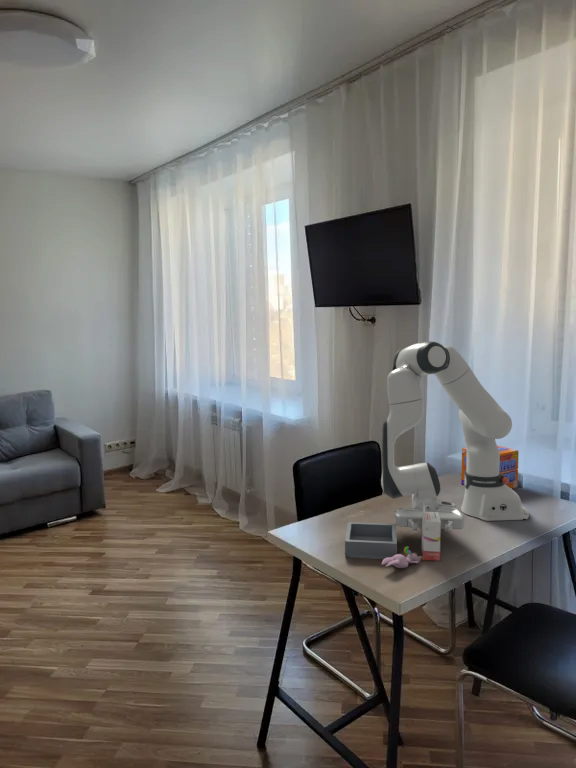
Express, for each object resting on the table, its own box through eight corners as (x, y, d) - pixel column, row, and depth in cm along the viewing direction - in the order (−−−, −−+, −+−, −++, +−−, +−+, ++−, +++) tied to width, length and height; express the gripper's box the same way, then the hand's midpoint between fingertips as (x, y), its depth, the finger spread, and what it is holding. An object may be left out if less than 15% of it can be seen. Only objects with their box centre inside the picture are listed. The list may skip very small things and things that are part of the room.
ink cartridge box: (441, 561, 158) (441, 512, 156) (423, 560, 159) (423, 511, 157) (438, 548, 166) (438, 502, 164) (421, 548, 167) (421, 501, 165)
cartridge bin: (395, 539, 174) (395, 524, 173) (396, 560, 159) (397, 543, 159) (348, 536, 176) (347, 522, 176) (345, 557, 162) (344, 541, 161)
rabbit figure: (410, 560, 162) (374, 567, 153) (412, 540, 162) (377, 546, 153) (427, 568, 157) (391, 575, 148) (429, 547, 157) (394, 553, 148)
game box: (491, 494, 214) (492, 455, 212) (460, 484, 227) (461, 447, 225) (517, 488, 221) (519, 450, 219) (486, 478, 235) (487, 442, 233)
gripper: (394, 501, 176) (395, 517, 162) (460, 503, 173) (467, 520, 159) (393, 520, 177) (395, 537, 163) (459, 522, 173) (466, 540, 160)
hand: (431, 528), depth 161 cm, fingers open, 8 cm apart
